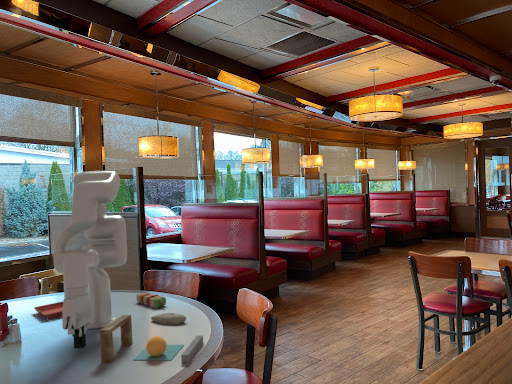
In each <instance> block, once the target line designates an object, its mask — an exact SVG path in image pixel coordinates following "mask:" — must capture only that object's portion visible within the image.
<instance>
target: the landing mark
mask: <svg viewBox="0 0 512 384" xmlns="http://www.w3.org/2000/svg"><path fill="white" fill-rule="evenodd" d="M183 347H185V344H166V350H165V352H164V353H163V354H162V355H161V356H158V357H153V356H151V355H149V353H148V352H147V348H146V347H145V348H144V349H143V350H141V352H140V353H139V354H137V355H136V357H134V358H133V361H163V362H164V361H172V360H173V359H174V358H175V357H176V355H177V354H178V353H179V352H180V350H181V349H182V348H183Z"/></svg>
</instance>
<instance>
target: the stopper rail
mask: <svg viewBox="0 0 512 384" xmlns="http://www.w3.org/2000/svg"><path fill="white" fill-rule="evenodd" d="M203 344H204V335H196V336H195V337H194V338H193V340H192V341H191V343H189V345H188V346H187V347H186V349H184V351H183V352H182V353H181V356H180V357H181V359H180V360H181V364H184V365H185V364H189V363H190V362H191V361H192V359H193V358H194V356H195V355H196V354H197V352H198V351H199V349H201V347H202V346H203Z"/></svg>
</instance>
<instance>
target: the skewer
mask: <svg viewBox="0 0 512 384" xmlns="http://www.w3.org/2000/svg"><path fill="white" fill-rule="evenodd" d="M136 302H137V303H140V304H141V305H145V306H146V307H151V308H155V309H159V308H161V307H164V306H165V305H166V304H167V298H166V296H162V295H159V294H154V293H149V292H147V293H146V292H142V293H137V294H136Z"/></svg>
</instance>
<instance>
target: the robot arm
mask: <svg viewBox="0 0 512 384" xmlns="http://www.w3.org/2000/svg"><path fill="white" fill-rule="evenodd" d="M72 183H73V185H74V187H73V193H72V206H71V217H70V222H68V224H67V225H65V226H64V228H63V229H62V230H61V232H60V233H59V234H58V236H57V238H56V240H55V244H54V254H53V267H54V269H55V271H56V272H58V273H59V274H60V273H61V274H63V275H62V277H63V295H64V298H63V311H62V317H61V321H62V324H61V325H62V329H63V330H67V335H69V336H70V335H72V337H73V348H74V349H75V350H77V349H79V350H80V349H84V348H86V346H87V341H86V338H87V337H86V334H87V330H94V329H95V330H96V329H102V328H104V327H105V326H107V325H108V324H110V323H111V322H113V321H114V320H116V319H117V318H116V317H115V316H113V315H112V314H113V313H112V297H111V295H112V294H111V279H110V276H109V274H108V273H107V271H106V270H105V269H104V268H113V267H114V268H115V267H116V268H117V267H122V266H124V265H125V264H126V263H127V260H128V241H127V237H128V236H127V224H126V220H125V219H124V217H123V216H122V215H118V214H116V215H114V214H113V215H107V204H111V203H113V202H114V201H115V199H117V198H116V197H117V195H118V192H119V190H120V187H121V186H120V185H121V178H120V176H119V173H118V172H116V171H113V170H111V171H110V170H109V171H108V170H103V171H86V172H85V171H84V172H79V173H76V174H75V175H74V177H73V180H72ZM82 232H83V234H84V237H85V239H86V240H88V241H106V240H113V241H114V242H101V243H91V244H86V245H84V246H83V247H82V248H81V249H69V250H66V247H67V245H68V244H69V242H70V241H71V240H72V239H73V238H74V237H75V236H77V235H79V234H81V233H82Z"/></svg>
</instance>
